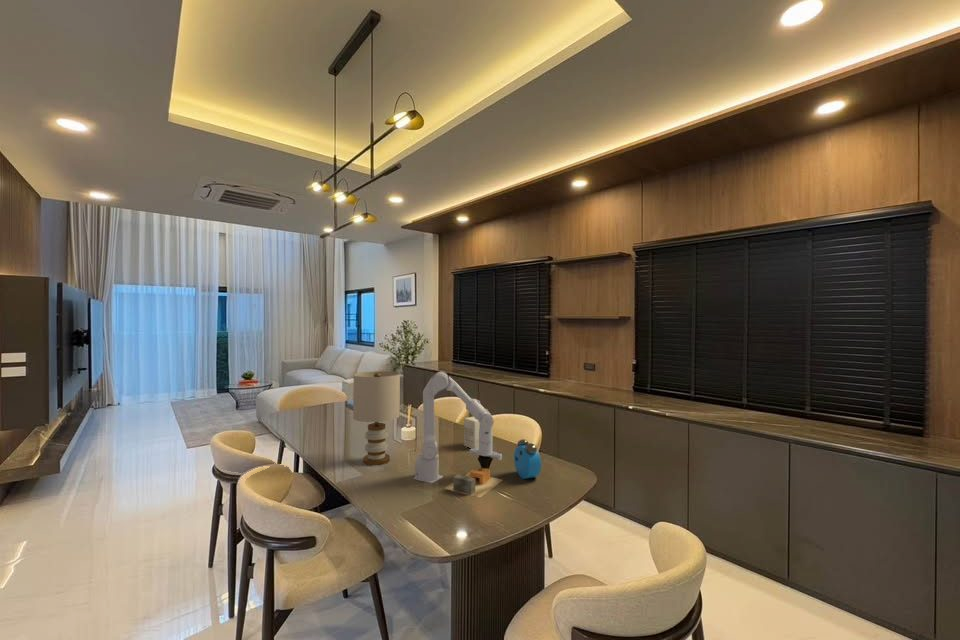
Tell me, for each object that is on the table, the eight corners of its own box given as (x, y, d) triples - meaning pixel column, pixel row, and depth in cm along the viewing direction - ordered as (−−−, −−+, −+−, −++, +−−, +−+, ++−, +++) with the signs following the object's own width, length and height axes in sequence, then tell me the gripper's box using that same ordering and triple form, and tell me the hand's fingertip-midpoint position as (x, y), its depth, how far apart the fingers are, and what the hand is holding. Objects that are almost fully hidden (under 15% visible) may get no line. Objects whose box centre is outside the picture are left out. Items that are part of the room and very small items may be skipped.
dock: (444, 489, 151) (444, 475, 152) (469, 473, 168) (469, 460, 168) (479, 498, 144) (479, 484, 144) (502, 480, 160) (502, 467, 160)
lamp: (372, 473, 167) (372, 377, 168) (343, 462, 180) (344, 373, 180) (408, 459, 184) (409, 372, 185) (380, 450, 197) (380, 369, 197)
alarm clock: (541, 482, 159) (541, 445, 159) (528, 484, 157) (528, 446, 157) (525, 470, 171) (525, 436, 171) (513, 472, 169) (513, 438, 169)
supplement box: (477, 443, 210) (477, 415, 211) (487, 447, 204) (488, 418, 204) (463, 446, 205) (463, 417, 205) (474, 450, 198) (474, 421, 198)
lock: (469, 481, 158) (469, 469, 158) (477, 476, 164) (477, 465, 164) (482, 484, 156) (482, 472, 156) (489, 479, 161) (489, 467, 161)
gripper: (505, 441, 164) (505, 474, 164) (475, 436, 171) (475, 467, 171) (497, 446, 158) (497, 479, 158) (467, 440, 165) (466, 472, 165)
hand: (485, 473), depth 164 cm, fingers closed
